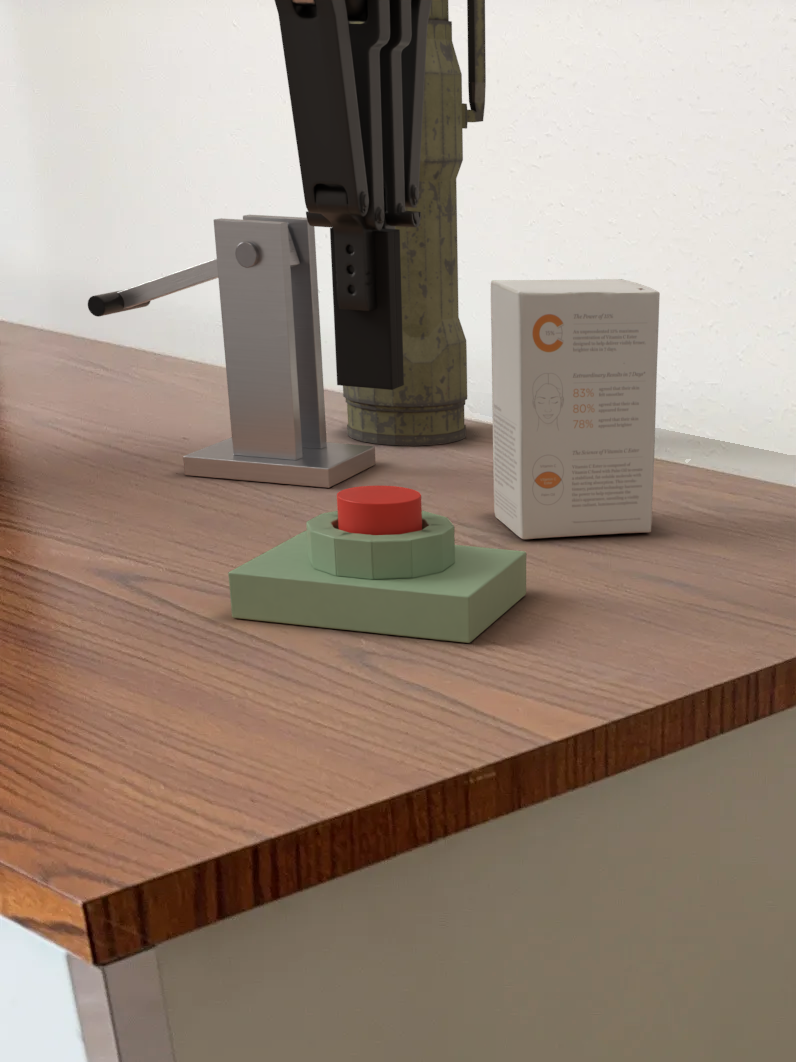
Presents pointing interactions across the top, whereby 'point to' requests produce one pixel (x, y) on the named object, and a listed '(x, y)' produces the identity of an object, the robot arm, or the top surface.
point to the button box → (380, 582)
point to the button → (379, 510)
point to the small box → (573, 405)
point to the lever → (162, 287)
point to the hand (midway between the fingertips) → (370, 384)
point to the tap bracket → (273, 361)
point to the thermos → (431, 259)
